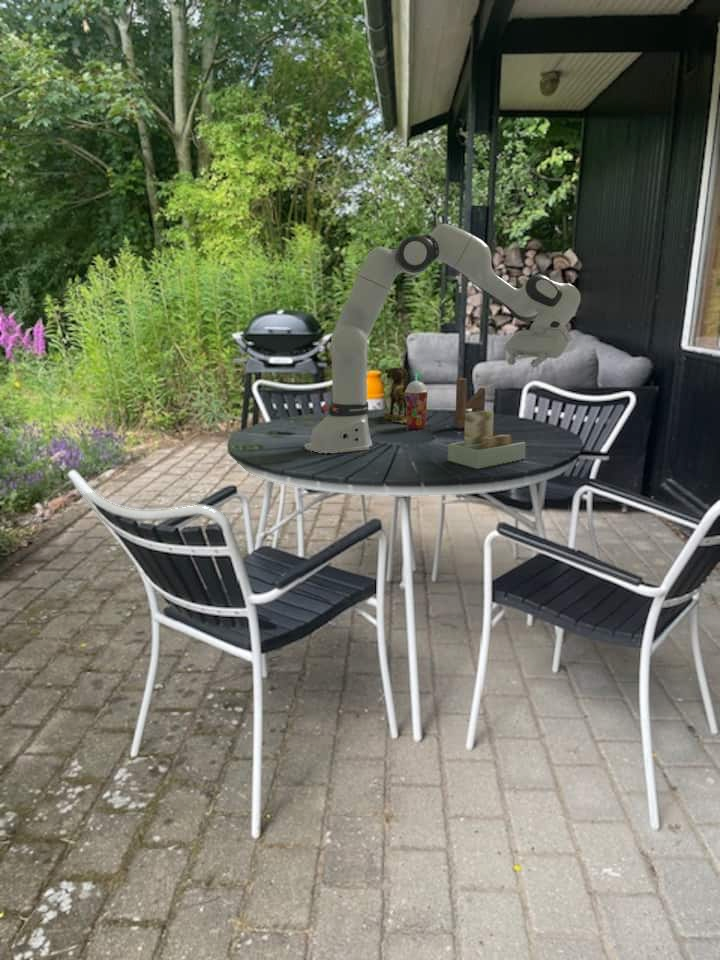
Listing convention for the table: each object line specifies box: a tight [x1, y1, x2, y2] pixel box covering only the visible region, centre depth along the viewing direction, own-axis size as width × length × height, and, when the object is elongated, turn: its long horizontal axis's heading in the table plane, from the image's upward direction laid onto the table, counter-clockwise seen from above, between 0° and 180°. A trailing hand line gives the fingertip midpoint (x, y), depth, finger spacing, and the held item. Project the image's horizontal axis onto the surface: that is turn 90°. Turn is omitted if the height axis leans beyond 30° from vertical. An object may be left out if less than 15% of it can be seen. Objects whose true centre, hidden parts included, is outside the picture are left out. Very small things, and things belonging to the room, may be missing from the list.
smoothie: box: [405, 372, 429, 430], centre depth 255 cm, size 8×8×20 cm
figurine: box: [379, 367, 409, 426], centre depth 274 cm, size 13×25×20 cm, turn 9°
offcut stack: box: [482, 434, 512, 449], centre depth 204 cm, size 10×4×8 cm, turn 124°
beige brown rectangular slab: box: [463, 409, 495, 447], centre depth 207 cm, size 9×3×14 cm, turn 124°
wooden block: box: [453, 377, 486, 430], centre depth 255 cm, size 4×11×18 cm, turn 109°
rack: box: [447, 441, 527, 470], centre depth 206 cm, size 19×13×5 cm, turn 124°
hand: (521, 364), depth 211 cm, fingers open, 8 cm apart
